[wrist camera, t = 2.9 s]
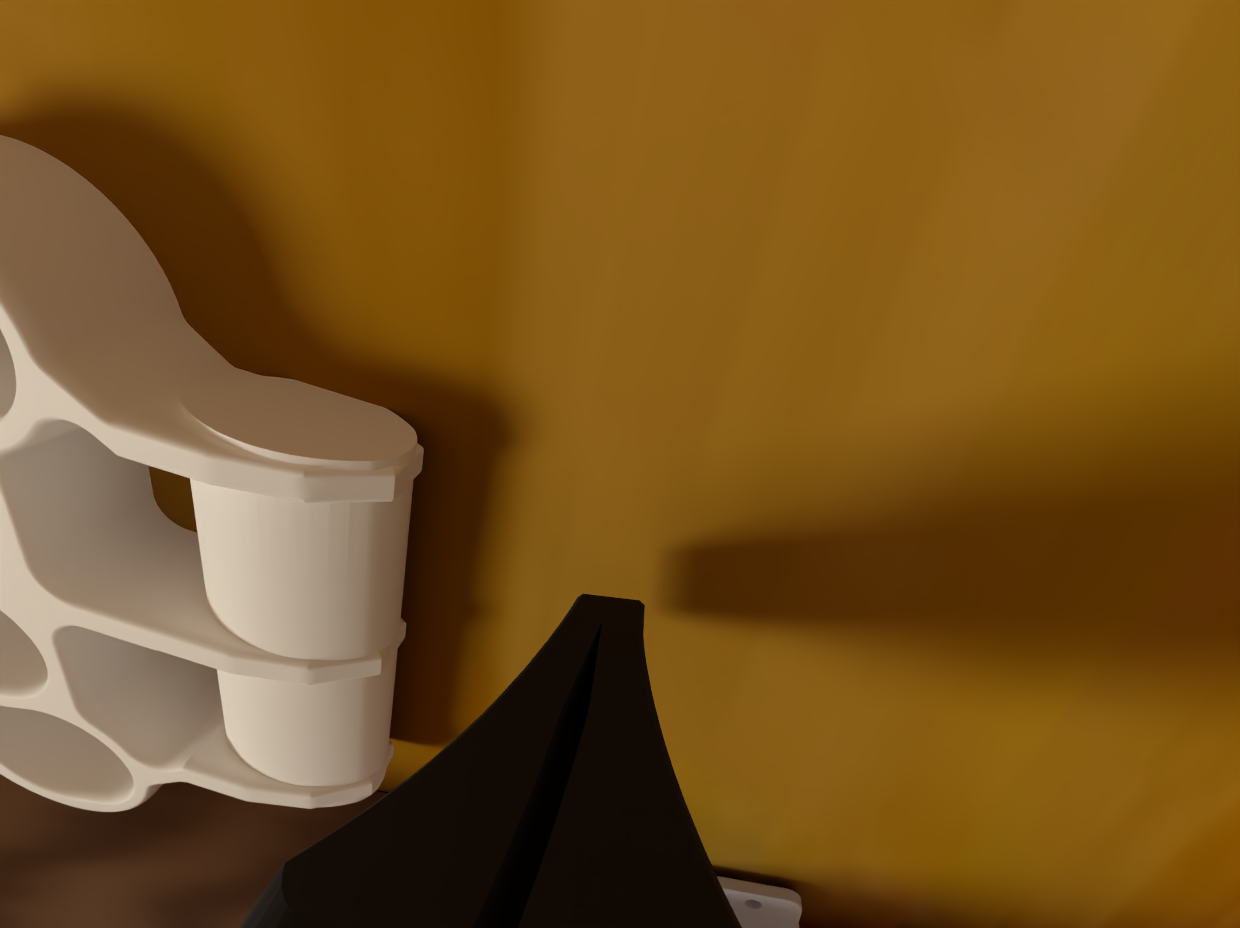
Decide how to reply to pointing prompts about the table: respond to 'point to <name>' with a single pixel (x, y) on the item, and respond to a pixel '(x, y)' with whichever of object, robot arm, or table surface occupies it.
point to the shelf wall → (149, 857)
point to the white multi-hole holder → (179, 535)
